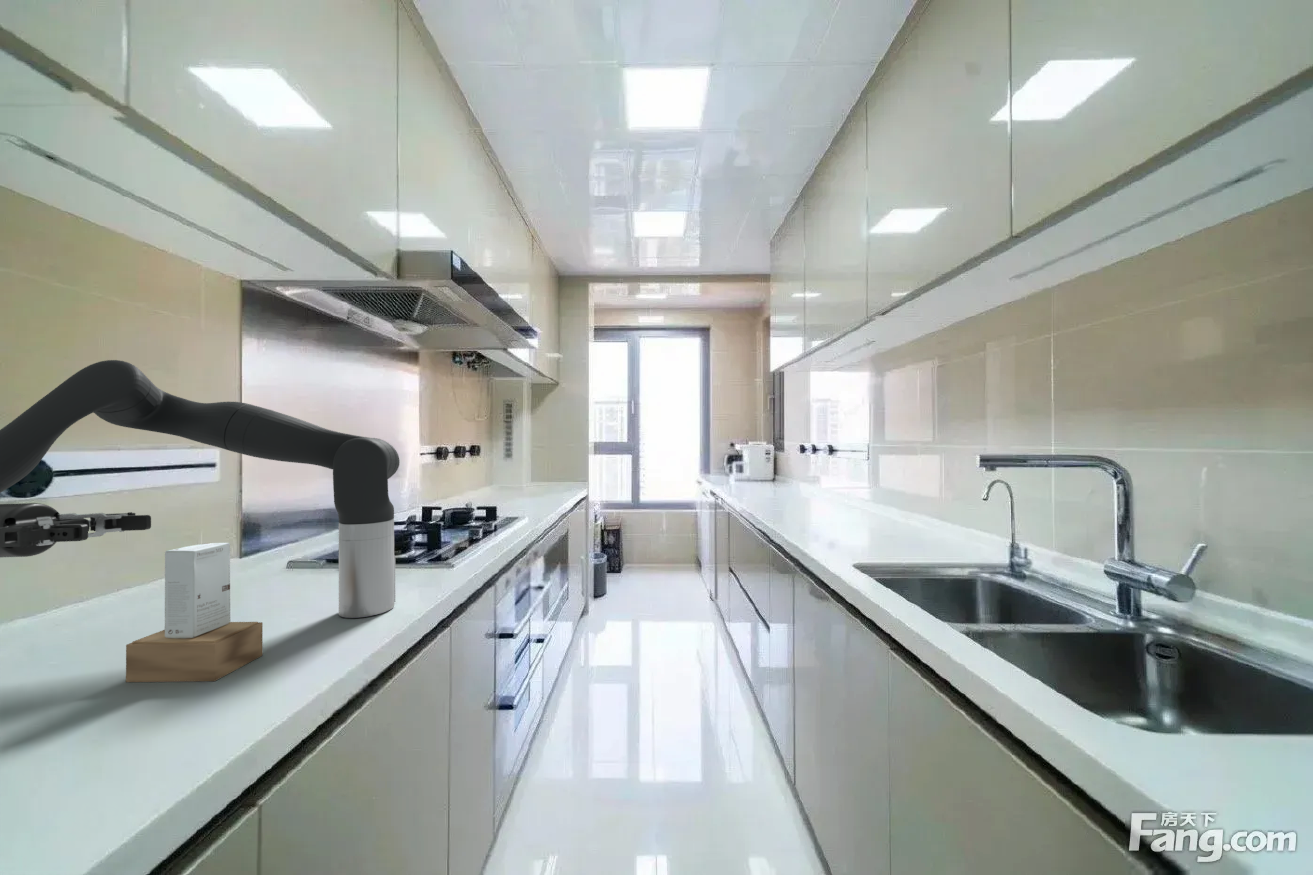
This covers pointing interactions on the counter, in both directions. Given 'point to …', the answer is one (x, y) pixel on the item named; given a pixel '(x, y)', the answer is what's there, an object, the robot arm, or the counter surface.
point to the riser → (194, 654)
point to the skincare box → (197, 589)
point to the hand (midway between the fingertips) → (119, 527)
